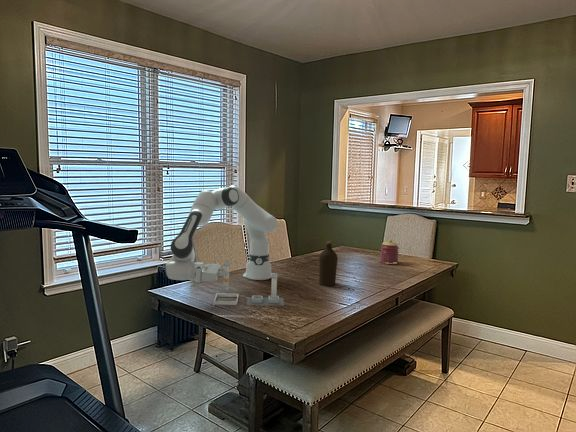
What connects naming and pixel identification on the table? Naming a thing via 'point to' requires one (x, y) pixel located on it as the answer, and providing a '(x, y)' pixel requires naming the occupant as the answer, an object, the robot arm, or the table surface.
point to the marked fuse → (226, 278)
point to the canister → (389, 252)
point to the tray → (226, 301)
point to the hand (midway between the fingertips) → (228, 272)
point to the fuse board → (264, 300)
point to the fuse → (274, 285)
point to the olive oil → (327, 266)
